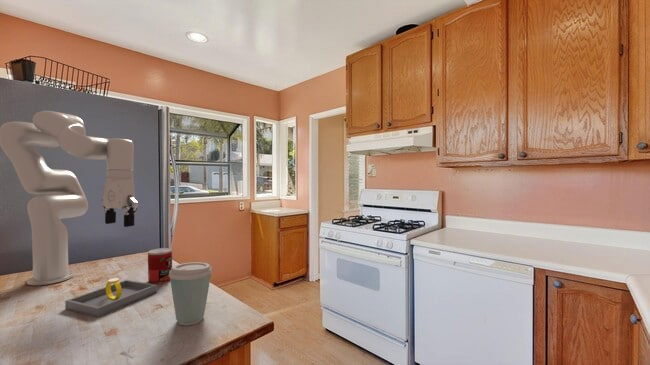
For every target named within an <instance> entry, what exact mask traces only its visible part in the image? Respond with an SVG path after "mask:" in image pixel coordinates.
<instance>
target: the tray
mask: <svg viewBox="0 0 650 365" xmlns="http://www.w3.org/2000/svg"><path fill="white" fill-rule="evenodd" d="M119 283H120V285H121V288H122V293H121V296H120V298H118V299H116V300H113V299H110V298H108V296H107V294H106V286H105V287H101V288H98V289H96V290H93V291H89V292H87V293H84V294H80V295H78V296H76V297H73V298H70V299H66V300H65V302H64V303H65V305H64V306H65V307H64V308H65V310H66V311H67V310H68V311H71V312H75V313H78V314H83V315H86V316H90V317H93V318H94V317H95V318H101V317H102V316H103V317H104V316H105V315H106V314H109V313H112V312H114V311H116V310H119V309H122V308H125V307H126V306H128V305H131V304H133V303H136V302H138V301H140V300H142V299H145V298H146V297H149V296H151V295H153V294H156V293H158V291H157V289H158V288H157V284H155V283H148V282H142V281H137V280H131V279H125V280H122V281H119ZM111 292H112V294H113V296H115V297H116V294H117V292H116V287H115V285H114V284H113V283H112V284H111Z"/></svg>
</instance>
